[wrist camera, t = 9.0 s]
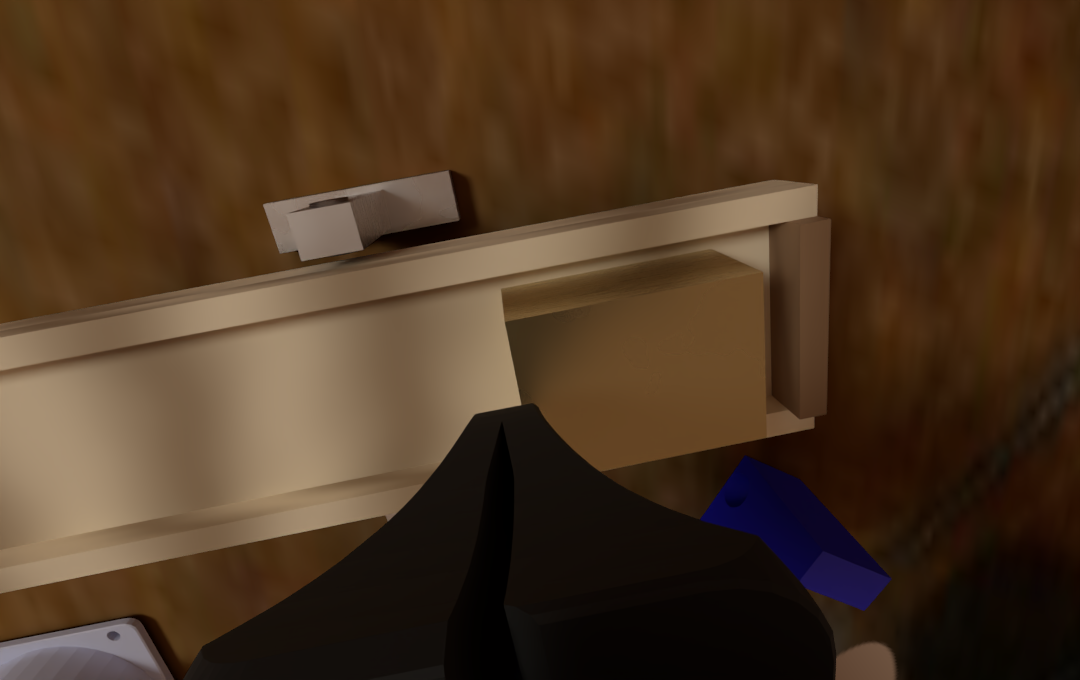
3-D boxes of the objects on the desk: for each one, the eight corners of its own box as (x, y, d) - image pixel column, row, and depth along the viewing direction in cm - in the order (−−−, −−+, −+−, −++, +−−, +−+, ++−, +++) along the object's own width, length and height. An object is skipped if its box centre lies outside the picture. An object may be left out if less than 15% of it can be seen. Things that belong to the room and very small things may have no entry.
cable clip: (683, 671, 27) (733, 807, 22) (607, 646, 26) (638, 782, 21) (823, 488, 24) (924, 592, 18) (743, 452, 23) (823, 550, 17)
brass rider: (528, 426, 16) (537, 484, 14) (501, 289, 15) (504, 321, 12) (718, 388, 17) (767, 437, 14) (710, 248, 15) (763, 272, 12)
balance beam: (35, 545, 17) (-45, 615, 15) (-94, 341, 15) (-217, 382, 12) (777, 396, 18) (826, 438, 16) (774, 179, 16) (832, 186, 13)
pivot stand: (364, 472, 22) (328, 563, 17) (272, 201, 18) (194, 221, 13) (510, 444, 22) (515, 527, 17) (450, 169, 18) (435, 178, 13)
